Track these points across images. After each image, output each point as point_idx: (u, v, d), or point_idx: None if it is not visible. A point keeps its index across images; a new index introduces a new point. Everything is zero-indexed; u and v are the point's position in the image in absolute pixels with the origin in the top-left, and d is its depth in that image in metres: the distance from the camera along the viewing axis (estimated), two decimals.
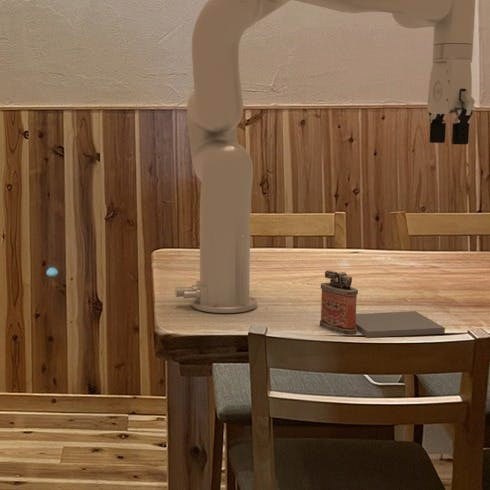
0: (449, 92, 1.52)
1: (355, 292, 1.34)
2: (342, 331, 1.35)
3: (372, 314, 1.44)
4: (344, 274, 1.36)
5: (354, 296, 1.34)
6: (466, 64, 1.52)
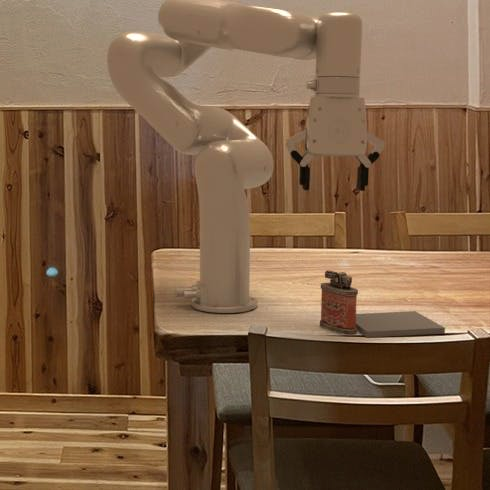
0: (365, 133, 1.34)
1: (355, 292, 1.34)
2: (342, 331, 1.35)
3: (372, 314, 1.44)
4: (344, 274, 1.36)
5: (354, 296, 1.34)
6: None
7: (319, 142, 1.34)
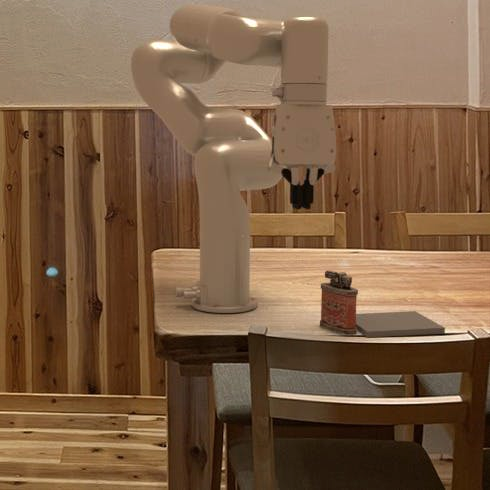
0: (334, 142, 1.30)
1: (355, 292, 1.34)
2: (342, 331, 1.35)
3: (372, 314, 1.44)
4: (344, 274, 1.36)
5: (354, 296, 1.34)
6: None
7: (288, 152, 1.28)
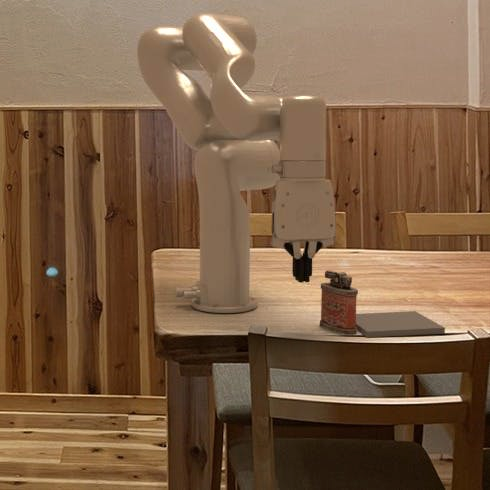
0: (334, 216, 1.32)
1: (355, 292, 1.34)
2: (342, 331, 1.35)
3: (372, 314, 1.44)
4: (344, 274, 1.36)
5: (354, 296, 1.34)
6: None
7: (288, 227, 1.30)
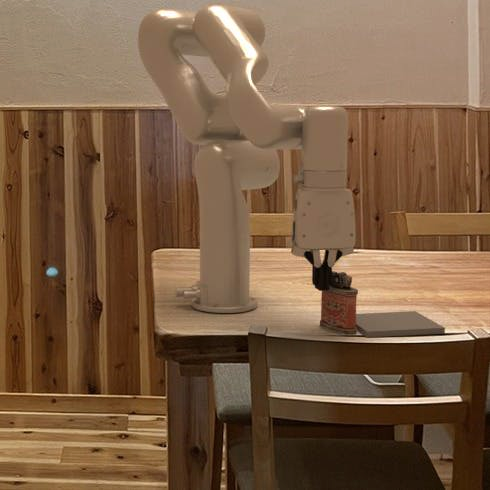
0: (354, 226, 1.33)
1: (355, 292, 1.34)
2: (342, 331, 1.35)
3: (372, 314, 1.44)
4: (344, 274, 1.36)
5: (354, 296, 1.34)
6: None
7: (309, 237, 1.31)
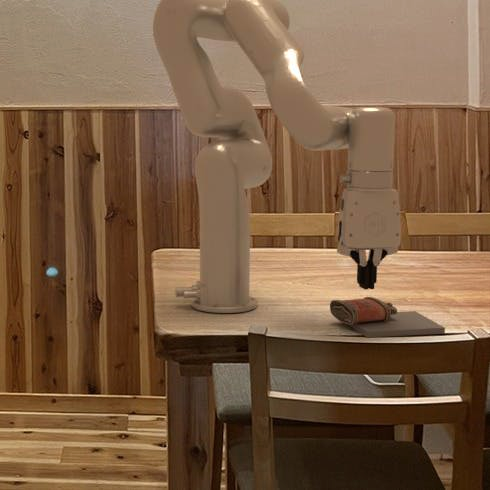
0: (400, 225, 1.35)
1: (389, 315, 1.38)
2: (352, 308, 1.36)
3: None
4: None
5: (385, 315, 1.38)
6: None
7: (356, 236, 1.33)
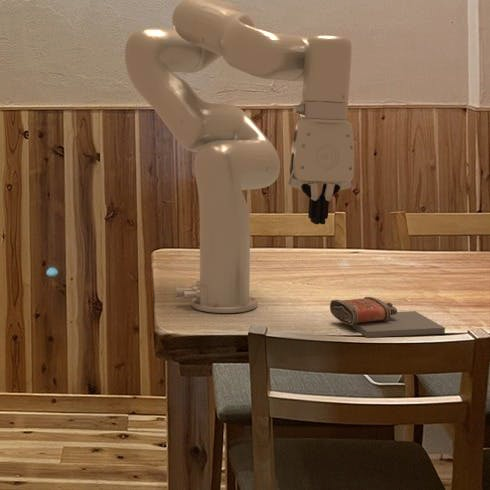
0: (353, 159, 1.32)
1: (389, 315, 1.38)
2: (352, 308, 1.36)
3: None
4: None
5: (385, 315, 1.38)
6: None
7: (307, 168, 1.30)
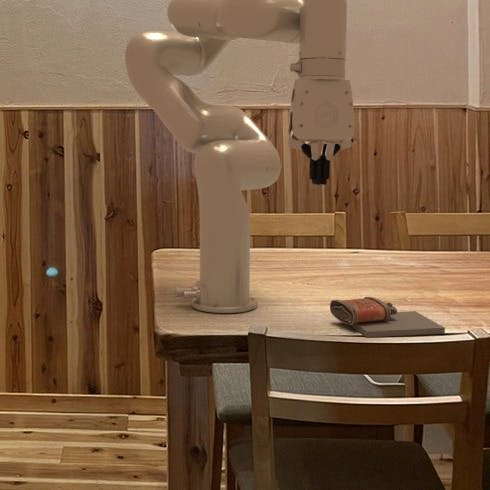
0: (353, 117, 1.30)
1: (389, 315, 1.38)
2: (352, 308, 1.36)
3: None
4: None
5: (385, 315, 1.38)
6: None
7: (306, 127, 1.28)
